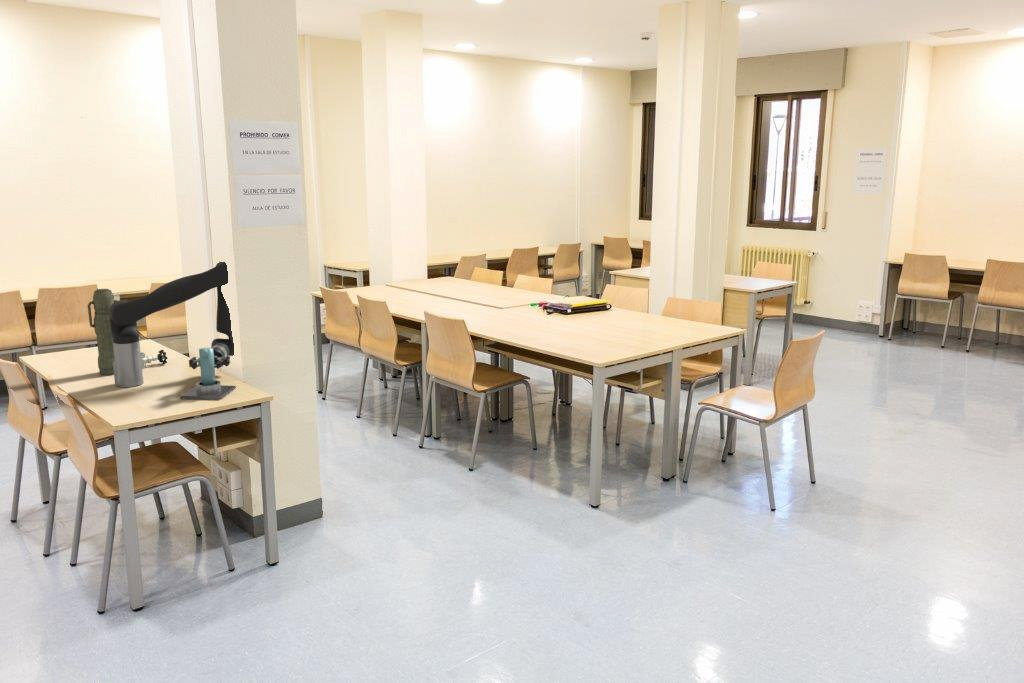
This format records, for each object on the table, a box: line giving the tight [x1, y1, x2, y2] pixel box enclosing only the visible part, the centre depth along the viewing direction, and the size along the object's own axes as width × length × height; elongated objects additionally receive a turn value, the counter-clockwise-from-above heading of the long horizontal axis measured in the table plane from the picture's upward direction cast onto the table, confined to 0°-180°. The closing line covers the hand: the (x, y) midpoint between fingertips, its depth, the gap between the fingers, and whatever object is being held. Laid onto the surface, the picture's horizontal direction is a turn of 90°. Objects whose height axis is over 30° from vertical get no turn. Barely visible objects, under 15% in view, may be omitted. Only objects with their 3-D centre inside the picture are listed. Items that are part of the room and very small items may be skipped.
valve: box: [141, 349, 168, 370], centre depth 333 cm, size 7×7×12 cm
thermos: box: [87, 288, 118, 376], centre depth 319 cm, size 9×12×35 cm
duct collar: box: [179, 379, 237, 400], centre depth 293 cm, size 15×15×4 cm
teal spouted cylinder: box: [198, 347, 217, 385], centre depth 292 cm, size 7×5×16 cm
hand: (205, 366), depth 289 cm, fingers open, 8 cm apart
